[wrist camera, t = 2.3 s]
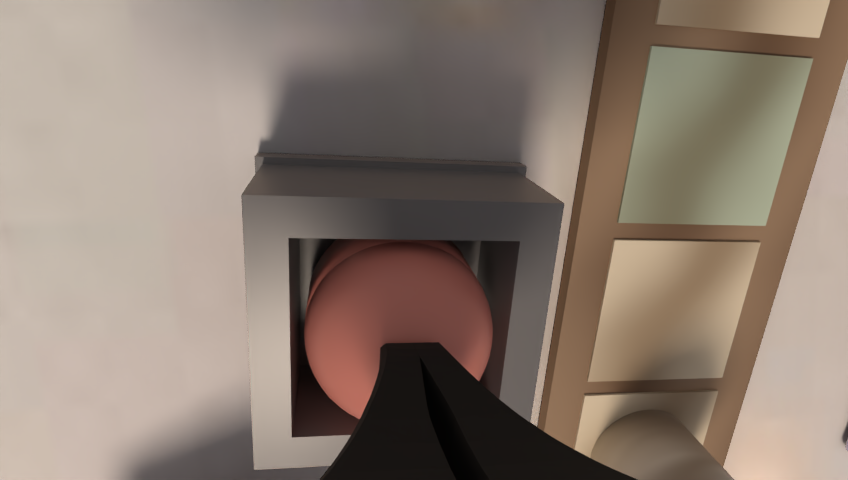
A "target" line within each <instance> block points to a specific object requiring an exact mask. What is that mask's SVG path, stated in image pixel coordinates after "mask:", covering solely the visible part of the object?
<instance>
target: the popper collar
mask: <svg viewBox="0 0 848 480" xmlns="http://www.w3.org/2000/svg"><path fill="white" fill-rule="evenodd" d="M255 173H256V174H255V176H254V177H253V179H252V180H251V182H250V183H249V184H248V186H247V187H246V189H245V190H244V192H243V193H242V217H243V240H244V262H245V284H246V306H247V328H248V350H249V372H250V394H251V417H252V439H253V461H254V470H264V469H283V468H302V467H320V466H331V464H332V463H333V462H334V460H335V459H336V457H337V456H338V454H339V453H340V452H341V450H342V449H343V447H344V446H345V444H346V443H347V441H348V439H349V438H350V436H351V434H352V433H353V431H354V429H355V427H356V425H357V424H358V422H359V420H360V419H358V418H356V417H354V416H352V415H350V414H349V413H347V412H346V411H344V410H343V409H341V408H340V407H339V406H338V405H337V404H336V403H335V402H334V401H332V400H331V399H330V398H329V397H328V395H327V394H326V393H325V392H324V390H323V389H322V388H321V386H320V384H319V383H318V381H317V379H316V378H315V376H314V374H313V372H312V369H311V367H310V364H309V361H308V357H307V353H306V349H305V339H304V327H305V315H306V308H307V300H308V292H309V285H310V281H311V277H312V274H313V271H314V269H315V267H316V265H317V263H318V261H319V259H320V258H321V256H322V255H323V254H324V252H325V251H326V250H327V249H328V247H329V246H330V245H331V244H332V243H333V242H334V241H336V240H337V239H395V240H451V241H452V242H453V243H454V244H455V245H456V246H457V247H458V249H459V250H460V251H461V253H462V254H463V256H464V258H465V259H466V261H467V263H468V264H469V266H470V268H471V269H472V271H473V273H474V274H475V276H476V278H477V279H478V281H479V283H480V284H481V286H482V288H483V290H484V293H485V295H486V297H487V300H488V302H489V306H490V311H491V316H492V325H493V337H492V347H491V352H490V357H489V360H488V363H487V366H486V368H485V370H484V372H483V374H482V376H481V379H480V380H479V382H480V383H481V384H482V385H483V386H484V387H486V388H487V389H488V390H489V391H490V392H491V393H493V394H494V395H495V396H496V397H497V398H498V399H500V400H501V401H502V402H504V403H505V404H506V405H507V406H509V407H510V408H511V409H512V410H514V411H515V412H516V413H517V414H519V415H520V416H522V417H523V418H524V419H526V420H527V421H529V422H530V420H531V414H532V407H533V401H534V394H535V388H536V382H537V375H538V369H539V362H540V356H541V349H542V343H543V337H544V330H545V324H546V317H547V311H548V305H549V298H550V292H551V285H552V279H553V273H554V266H555V260H556V253H557V247H558V241H559V234H560V228H561V221H562V215H563V208H564V203H563V202H562V201H560V200H559V199H557V198H556V197H554V196H553V195H551V194H550V193H548V192H547V191H545V190H544V189H542V188H541V187H539V186H538V185H536V184H535V183H534V182H532V181H531V180H529V179H528V178H526V177H525V175H526V166H525V165H523V164H521V163H510V162H484V161H458V160H432V159H406V158H381V157H355V156H329V155H303V154H278V153H257V155H256V156H255Z"/></svg>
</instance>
